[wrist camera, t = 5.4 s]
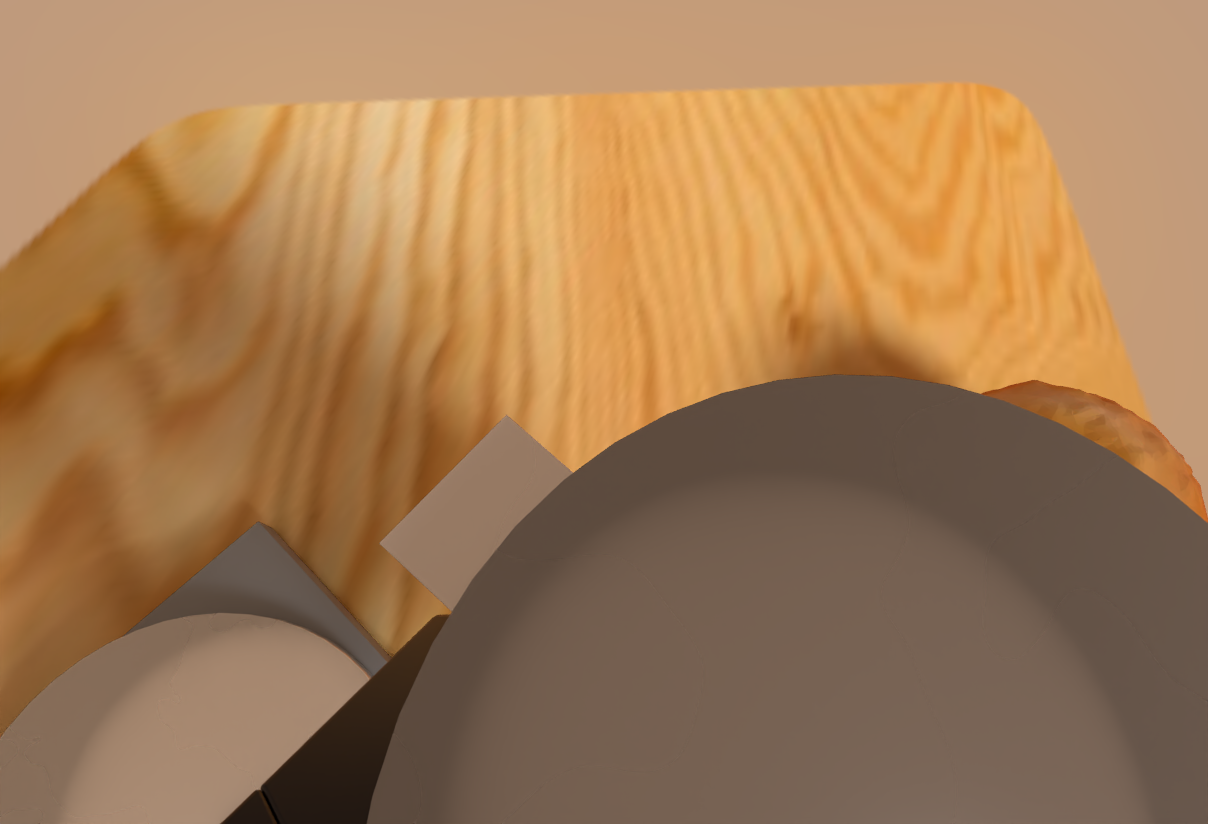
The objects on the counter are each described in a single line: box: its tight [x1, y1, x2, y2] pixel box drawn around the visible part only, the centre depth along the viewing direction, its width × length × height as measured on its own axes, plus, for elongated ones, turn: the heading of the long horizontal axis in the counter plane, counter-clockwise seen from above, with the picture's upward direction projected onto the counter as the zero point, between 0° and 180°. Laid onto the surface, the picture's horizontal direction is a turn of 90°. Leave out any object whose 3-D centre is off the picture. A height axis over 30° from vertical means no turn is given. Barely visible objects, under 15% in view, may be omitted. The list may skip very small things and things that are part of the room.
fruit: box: [982, 380, 1208, 523], centre depth 22 cm, size 8×8×8 cm
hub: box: [367, 375, 1208, 824], centre depth 9 cm, size 7×7×13 cm
